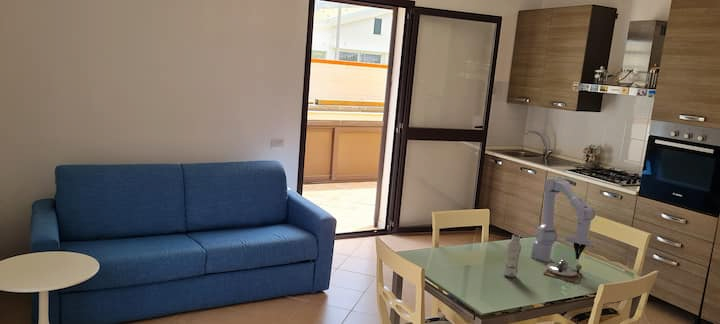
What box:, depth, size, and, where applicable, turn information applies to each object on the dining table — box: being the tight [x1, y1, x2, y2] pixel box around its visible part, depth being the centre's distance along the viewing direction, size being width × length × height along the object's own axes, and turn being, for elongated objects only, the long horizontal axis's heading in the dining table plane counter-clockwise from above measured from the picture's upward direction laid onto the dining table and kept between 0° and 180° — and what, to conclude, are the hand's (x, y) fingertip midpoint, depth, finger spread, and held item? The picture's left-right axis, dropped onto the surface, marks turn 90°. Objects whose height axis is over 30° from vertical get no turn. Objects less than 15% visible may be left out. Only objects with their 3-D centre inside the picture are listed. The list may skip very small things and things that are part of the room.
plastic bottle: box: [502, 234, 522, 278], centre depth 262 cm, size 6×7×20 cm
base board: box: [543, 263, 583, 285], centre depth 274 cm, size 16×16×5 cm
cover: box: [556, 259, 569, 270], centre depth 275 cm, size 5×5×4 cm
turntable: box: [546, 262, 577, 277], centre depth 275 cm, size 14×14×6 cm
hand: (577, 258), depth 271 cm, fingers closed
